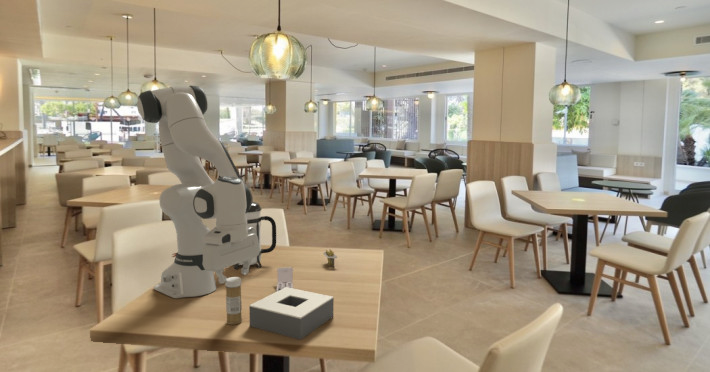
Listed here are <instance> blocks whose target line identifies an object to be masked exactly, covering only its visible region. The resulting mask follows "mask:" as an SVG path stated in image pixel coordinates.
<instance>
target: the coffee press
mask: <svg viewBox="0 0 710 372" xmlns="http://www.w3.org/2000/svg"><path fill="white" fill-rule="evenodd" d="M262 209H263V208H262V207H261V205H260V204H259V203H258V202H256V201H252V205H251V207H250V209H249V211H248V212H247V213H246V218H247V227H248V228H250V227H253V228H254V229H255V230H256V232H257V237H258V241H259V248H260V252H259V255H258V256H256V257H254V258H251V264H250V266H253V265H254V266H255V267H257V269H259V268H261V267H262V266H263V265H262V263H261V260H262V254H269V253H271V252H273V251H274V250H275V248H276V247H277V223H276V221H275V220H274V218H272V217H271V216H268V215H265V216H261V215H262V214H261V211H262ZM262 221H268V222H270V224H271V245H270V246H269V247H268V248H262V230H261V229H262V227H261V225H262V224H261V222H262ZM243 265H244V262H240V263H237V264H234V265H233V269H234V270H239V269H240V267H241V266H243Z"/></svg>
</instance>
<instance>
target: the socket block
mask: <svg viewBox="0 0 710 372" xmlns="http://www.w3.org/2000/svg"><path fill="white" fill-rule="evenodd" d="M334 298H335V297H334V296H333V295H332V296H331V295H326V294H321V293H318V292H312V291H306V290H302V289H298V288H294V287H293V288H288V287H285V288H283V289H281V290H279V291H277V292H276V291H275V292H273V293H271V294H269V295H267V296H265V297H264V298H261V299H259V300H257V301H255V302H253V303H251V304H249V309H248V310H249V327H251V328H255V329H259V330H262V331H267V332H271V333H274V334H277V335H281V336H285V337H289V338H293V339H297V340H302V339H304V338H305V337H306V336H308V335H309V334H311V333H312V332H314V331H315V330H317V329H318V328H320V327H321V326H322V325H324V324H325V323H327V322H328V321H330V320H331V319H332V318H334Z"/></svg>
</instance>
